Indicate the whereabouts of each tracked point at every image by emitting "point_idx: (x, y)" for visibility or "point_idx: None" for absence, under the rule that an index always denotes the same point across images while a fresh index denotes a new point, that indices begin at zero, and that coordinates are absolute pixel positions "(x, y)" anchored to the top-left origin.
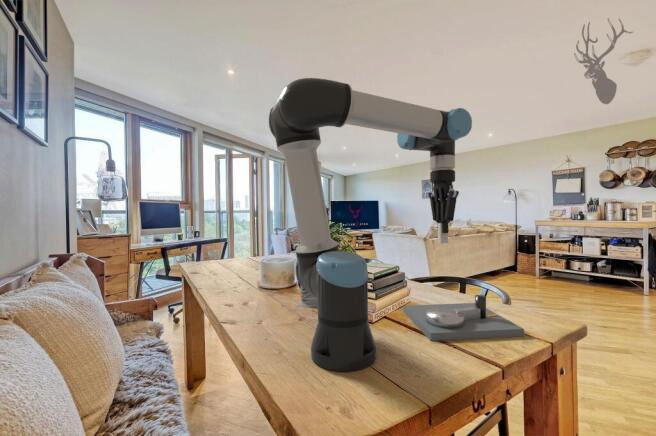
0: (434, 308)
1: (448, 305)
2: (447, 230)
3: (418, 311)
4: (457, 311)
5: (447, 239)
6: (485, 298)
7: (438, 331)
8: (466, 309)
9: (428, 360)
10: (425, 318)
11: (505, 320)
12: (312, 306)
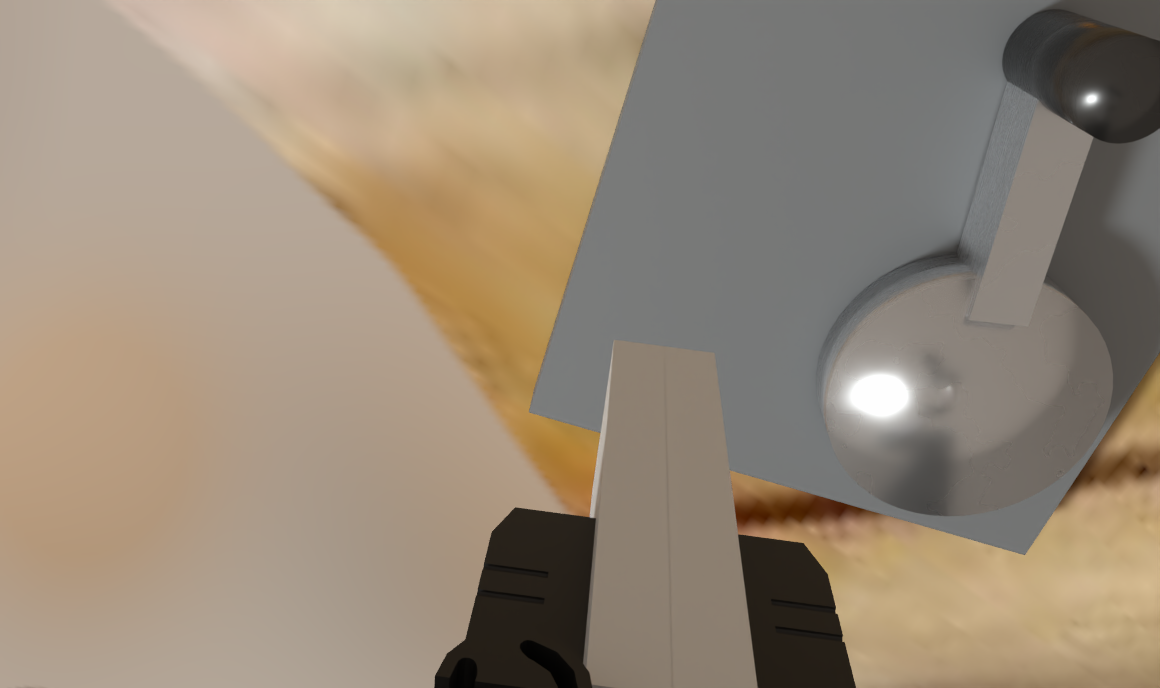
0: (849, 402)
1: (681, 78)
2: (827, 621)
3: None
4: (1022, 324)
5: (719, 406)
6: None
7: (1035, 506)
8: (1040, 232)
9: (1147, 649)
10: (828, 440)
11: None
12: None
